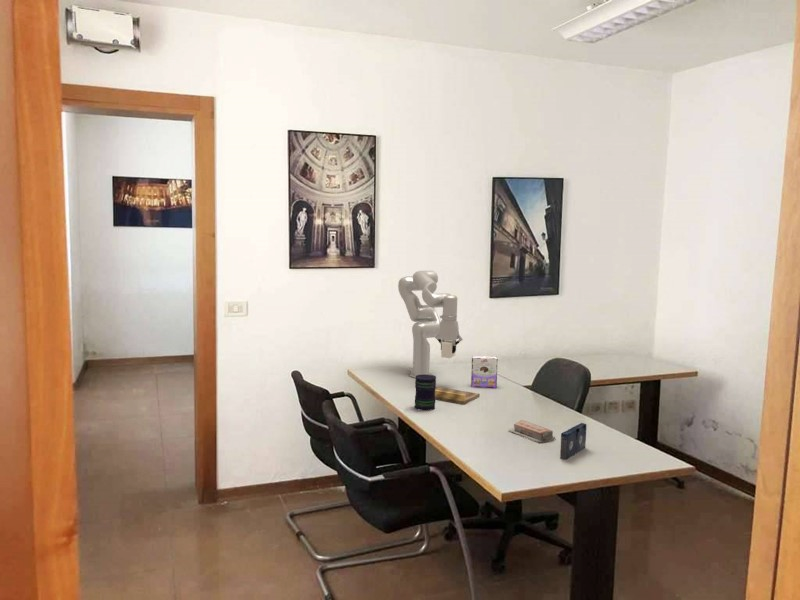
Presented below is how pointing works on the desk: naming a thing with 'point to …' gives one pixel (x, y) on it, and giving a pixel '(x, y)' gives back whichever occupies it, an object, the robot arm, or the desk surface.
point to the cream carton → (447, 349)
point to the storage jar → (425, 392)
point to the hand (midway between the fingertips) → (448, 351)
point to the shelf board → (454, 395)
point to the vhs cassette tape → (573, 441)
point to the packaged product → (532, 431)
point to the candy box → (484, 371)
